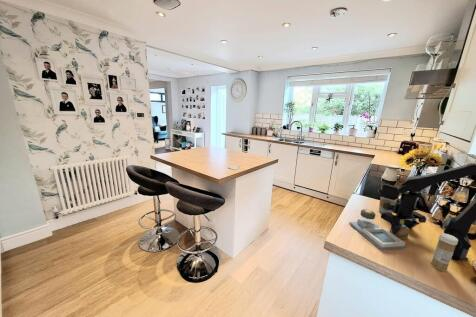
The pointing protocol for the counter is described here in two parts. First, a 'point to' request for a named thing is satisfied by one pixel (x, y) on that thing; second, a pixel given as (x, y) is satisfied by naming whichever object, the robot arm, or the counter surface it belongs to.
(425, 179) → the robot arm
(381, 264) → the counter surface
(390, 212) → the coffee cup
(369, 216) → the wheel
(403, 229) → the brown block
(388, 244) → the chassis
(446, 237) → the sprinkles bottle
